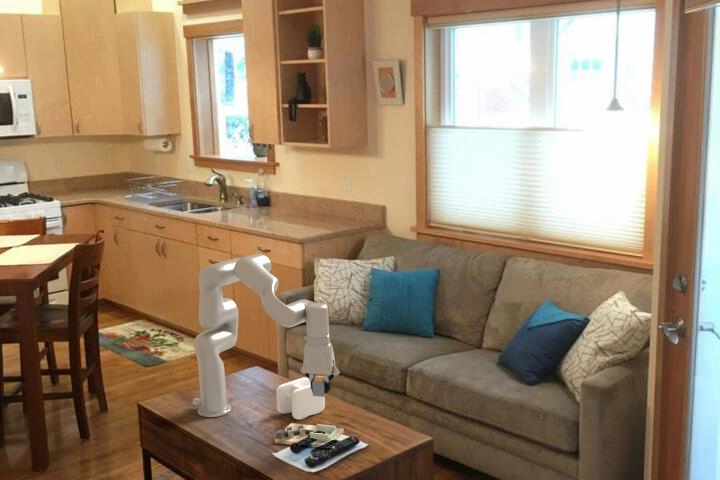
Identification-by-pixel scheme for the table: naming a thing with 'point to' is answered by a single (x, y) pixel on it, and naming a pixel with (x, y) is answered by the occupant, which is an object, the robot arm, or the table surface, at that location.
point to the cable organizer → (298, 399)
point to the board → (309, 427)
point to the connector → (319, 386)
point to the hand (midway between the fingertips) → (320, 391)
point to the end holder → (325, 429)
